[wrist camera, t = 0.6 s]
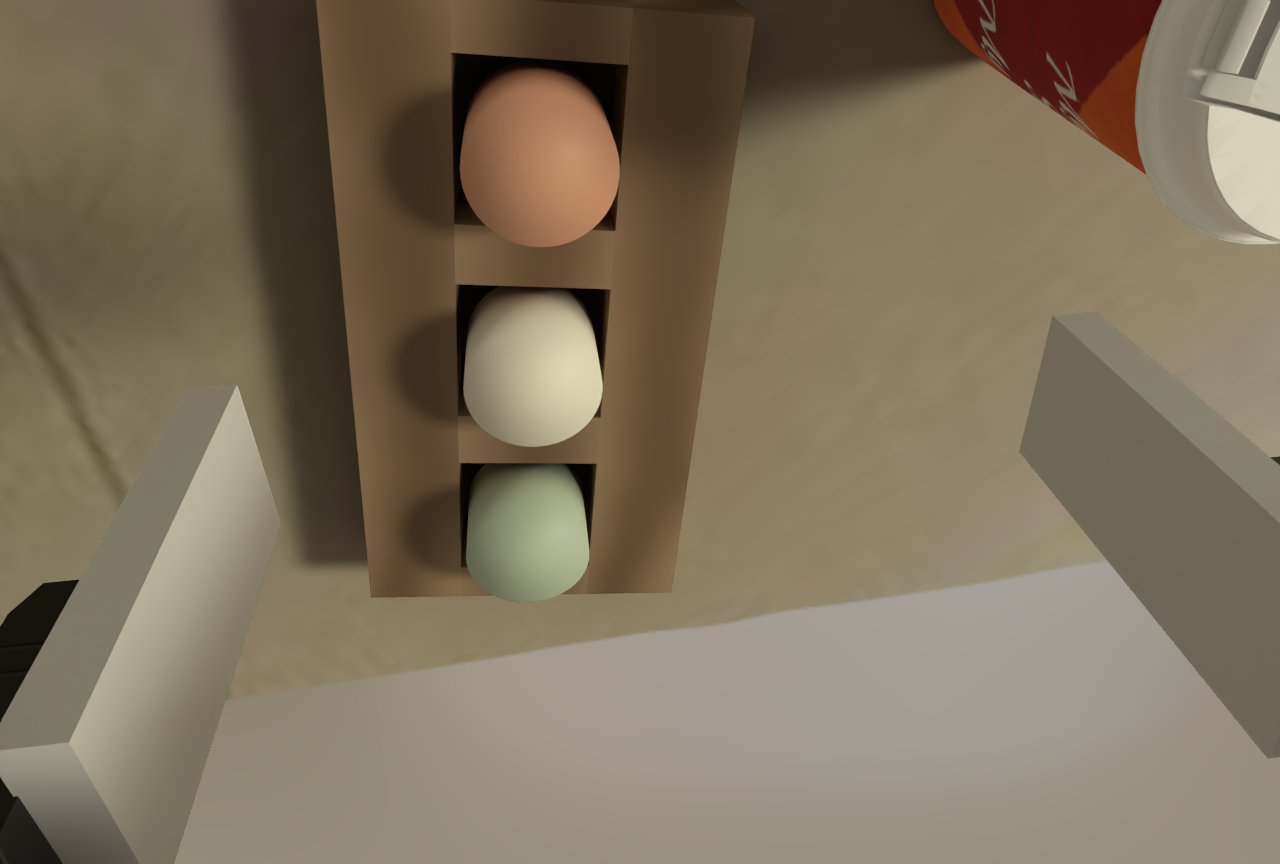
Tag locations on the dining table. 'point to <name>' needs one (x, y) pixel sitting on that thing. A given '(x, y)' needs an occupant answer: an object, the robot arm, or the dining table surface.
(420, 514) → the walnut panel
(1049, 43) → the coffee cup
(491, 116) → the brown egg
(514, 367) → the cream rounded piece
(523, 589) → the pale green rounded block
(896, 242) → the dining table surface
